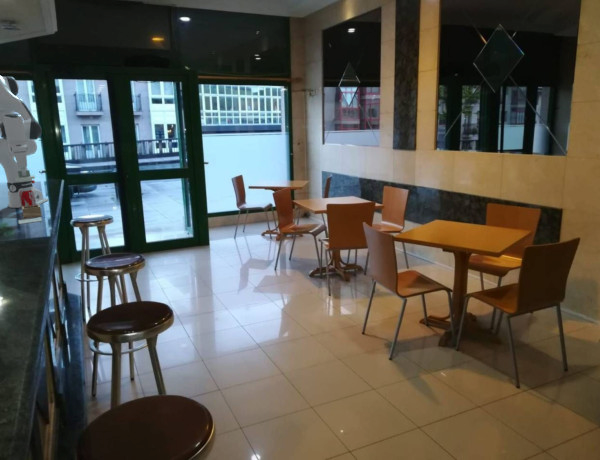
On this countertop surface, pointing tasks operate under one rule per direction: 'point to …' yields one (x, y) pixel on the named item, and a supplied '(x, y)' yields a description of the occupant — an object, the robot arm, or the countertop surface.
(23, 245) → the countertop surface
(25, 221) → the mat
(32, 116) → the robot arm
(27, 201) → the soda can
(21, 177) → the lid
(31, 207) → the crate
